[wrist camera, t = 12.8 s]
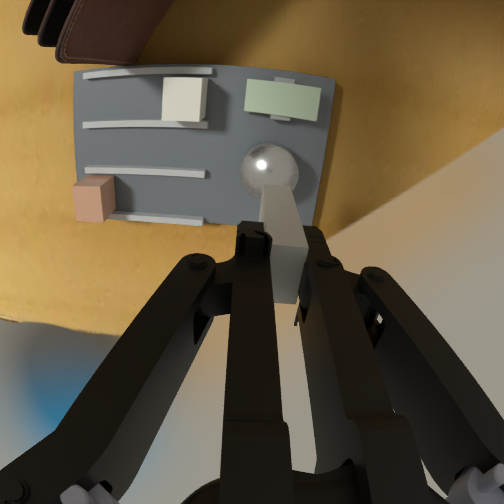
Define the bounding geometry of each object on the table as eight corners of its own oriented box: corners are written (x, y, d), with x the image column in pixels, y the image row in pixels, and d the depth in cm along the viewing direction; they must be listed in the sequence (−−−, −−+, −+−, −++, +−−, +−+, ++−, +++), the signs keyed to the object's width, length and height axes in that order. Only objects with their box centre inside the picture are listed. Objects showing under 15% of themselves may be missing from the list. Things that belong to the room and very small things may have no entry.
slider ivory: (171, 115, 26) (161, 120, 23) (173, 77, 24) (163, 77, 21) (205, 116, 26) (199, 121, 23) (208, 78, 24) (202, 77, 21)
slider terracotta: (90, 207, 30) (76, 220, 27) (87, 175, 28) (72, 186, 25) (115, 208, 30) (103, 222, 27) (113, 175, 28) (99, 186, 25)
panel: (88, 206, 32) (70, 224, 28) (83, 71, 25) (60, 72, 21) (307, 223, 33) (314, 244, 29) (330, 79, 26) (343, 79, 22)
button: (240, 181, 30) (237, 198, 26) (244, 133, 27) (242, 143, 24) (288, 186, 30) (294, 204, 26) (295, 139, 28) (302, 150, 24)
